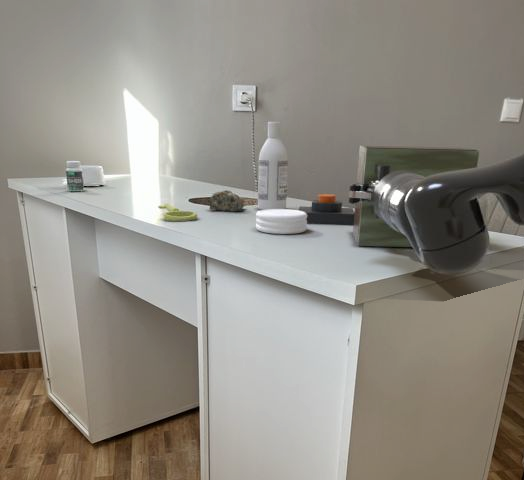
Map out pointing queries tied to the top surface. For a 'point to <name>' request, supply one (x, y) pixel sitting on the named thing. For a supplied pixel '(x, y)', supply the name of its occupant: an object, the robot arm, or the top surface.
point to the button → (327, 198)
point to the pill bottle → (74, 176)
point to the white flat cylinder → (281, 221)
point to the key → (177, 214)
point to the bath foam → (272, 171)
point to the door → (409, 160)
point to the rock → (226, 201)
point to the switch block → (328, 213)
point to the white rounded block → (92, 175)
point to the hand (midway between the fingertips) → (379, 187)
